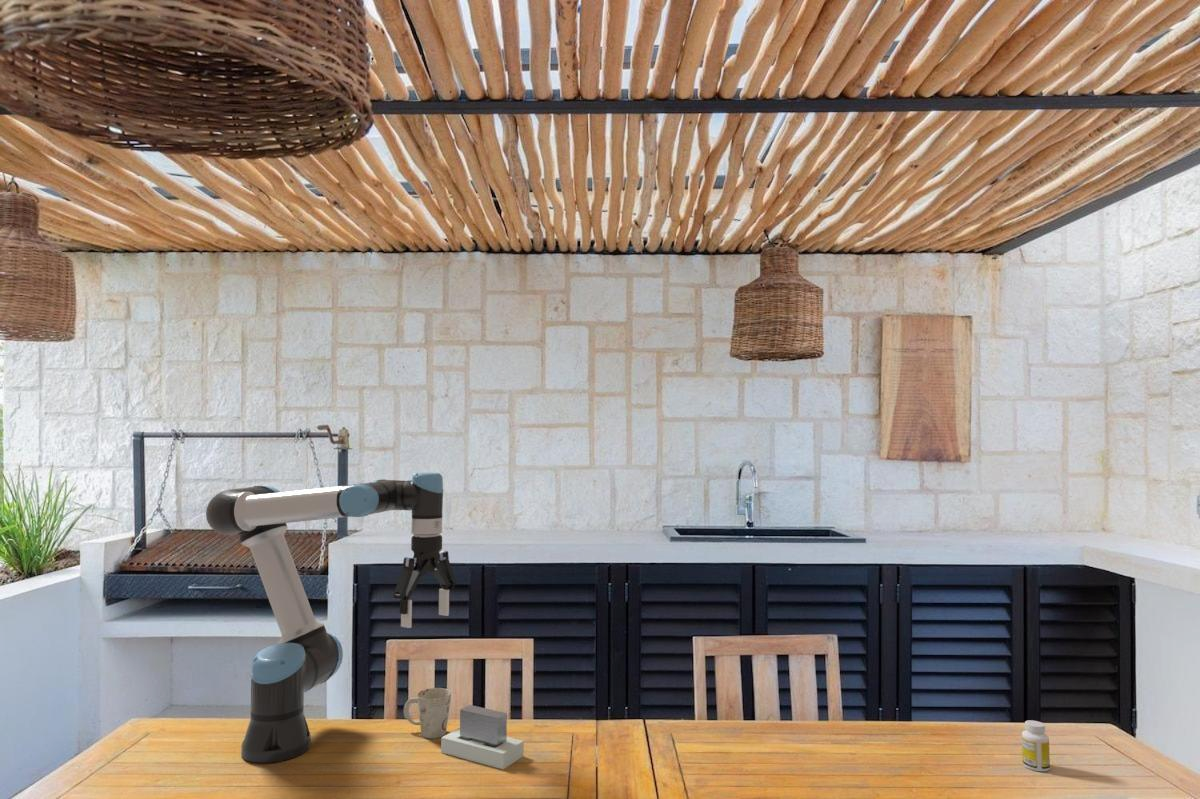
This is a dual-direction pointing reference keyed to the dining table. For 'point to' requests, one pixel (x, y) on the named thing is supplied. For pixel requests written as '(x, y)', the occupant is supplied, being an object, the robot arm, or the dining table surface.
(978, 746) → the dining table surface
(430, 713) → the mug
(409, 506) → the robot arm
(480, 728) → the clip
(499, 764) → the block
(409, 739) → the dining table surface
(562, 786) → the dining table surface
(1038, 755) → the supplement bottle
